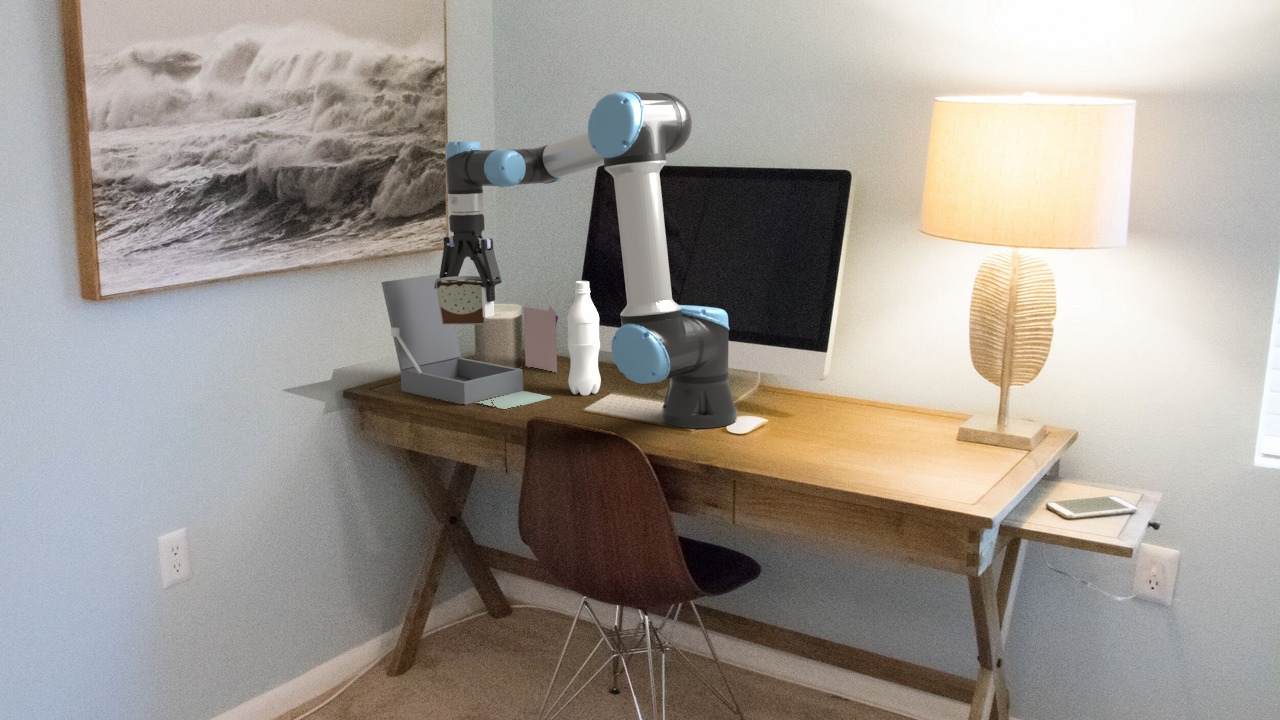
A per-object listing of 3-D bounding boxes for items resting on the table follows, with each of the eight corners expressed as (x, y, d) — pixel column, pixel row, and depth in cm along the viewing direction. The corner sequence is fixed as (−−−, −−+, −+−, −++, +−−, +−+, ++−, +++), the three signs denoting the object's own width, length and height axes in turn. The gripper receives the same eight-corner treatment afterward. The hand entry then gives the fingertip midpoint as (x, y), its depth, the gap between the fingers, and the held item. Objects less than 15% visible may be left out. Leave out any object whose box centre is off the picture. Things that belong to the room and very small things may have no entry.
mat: (551, 398, 248) (551, 396, 248) (503, 410, 237) (503, 408, 237) (523, 392, 254) (523, 390, 254) (475, 403, 243) (475, 402, 243)
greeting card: (560, 372, 273) (559, 311, 270) (530, 374, 271) (528, 313, 268) (554, 363, 284) (552, 304, 281) (524, 364, 282) (522, 305, 279)
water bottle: (582, 398, 247) (579, 285, 242) (562, 392, 252) (559, 281, 247) (607, 393, 252) (605, 281, 247) (587, 387, 257) (585, 278, 252)
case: (523, 391, 254) (519, 282, 249) (464, 405, 242) (459, 291, 237) (445, 374, 272) (440, 273, 267) (386, 387, 259) (380, 281, 254)
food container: (496, 319, 253) (494, 275, 251) (491, 324, 247) (489, 278, 245) (442, 320, 253) (439, 276, 252) (435, 324, 247) (433, 279, 246)
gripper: (419, 213, 249) (425, 312, 254) (488, 216, 234) (494, 321, 239) (445, 211, 255) (451, 307, 259) (515, 213, 240) (520, 316, 244)
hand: (471, 314), depth 249 cm, fingers closed on food container, 10 cm apart
